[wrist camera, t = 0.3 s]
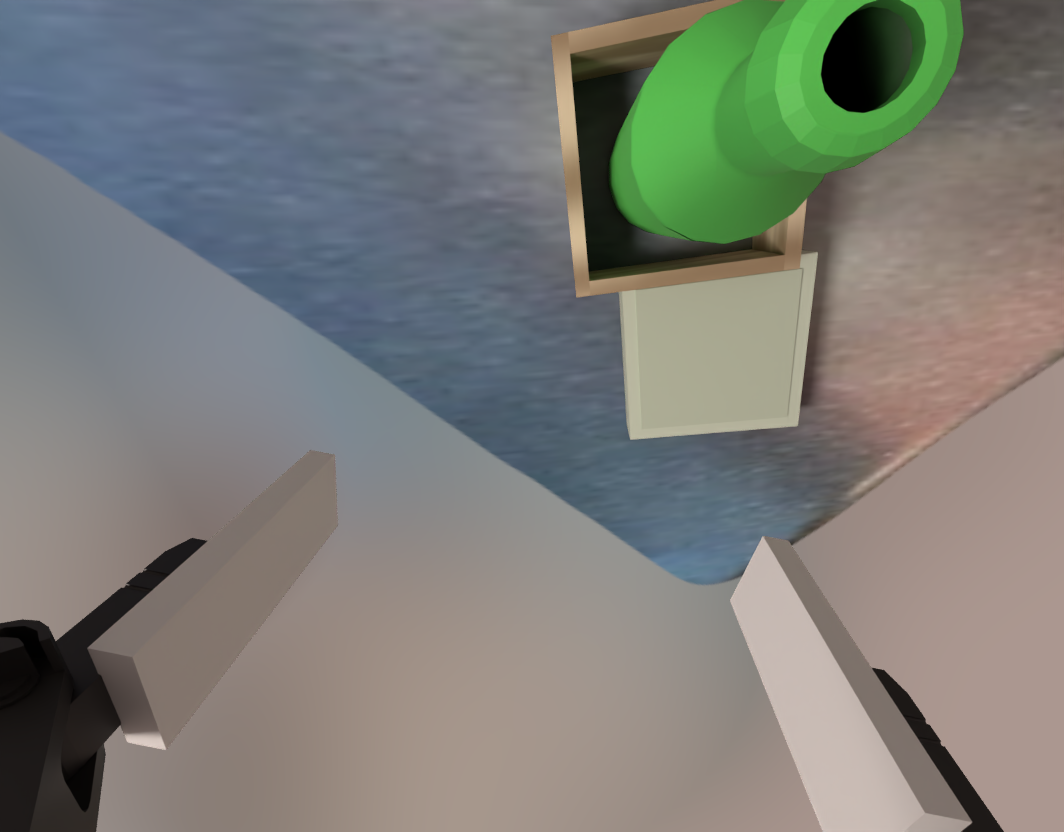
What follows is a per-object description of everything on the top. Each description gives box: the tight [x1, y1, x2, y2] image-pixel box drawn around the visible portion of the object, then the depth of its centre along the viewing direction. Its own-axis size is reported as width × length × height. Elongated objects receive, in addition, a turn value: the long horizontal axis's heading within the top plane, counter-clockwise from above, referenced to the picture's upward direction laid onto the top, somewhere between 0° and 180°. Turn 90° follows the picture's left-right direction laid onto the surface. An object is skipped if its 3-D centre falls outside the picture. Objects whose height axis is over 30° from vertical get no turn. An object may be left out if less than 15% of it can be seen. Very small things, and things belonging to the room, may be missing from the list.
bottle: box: [609, 0, 964, 244], centre depth 21 cm, size 9×9×25 cm
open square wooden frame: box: [551, 0, 807, 297], centre depth 30 cm, size 15×15×6 cm
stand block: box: [619, 250, 818, 440], centre depth 36 cm, size 14×14×3 cm
